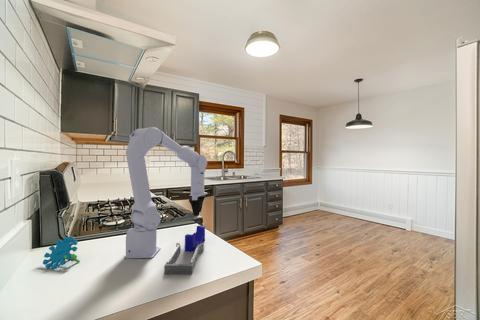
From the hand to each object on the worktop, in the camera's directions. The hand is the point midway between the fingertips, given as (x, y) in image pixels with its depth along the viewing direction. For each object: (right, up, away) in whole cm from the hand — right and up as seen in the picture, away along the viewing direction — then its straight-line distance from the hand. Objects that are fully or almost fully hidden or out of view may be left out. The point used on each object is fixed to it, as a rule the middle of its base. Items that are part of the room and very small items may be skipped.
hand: (197, 213), depth 98 cm
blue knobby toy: (-37, -10, -27) cm, 47 cm away
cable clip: (+1, -10, -11) cm, 15 cm away
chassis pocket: (0, -10, -24) cm, 26 cm away
